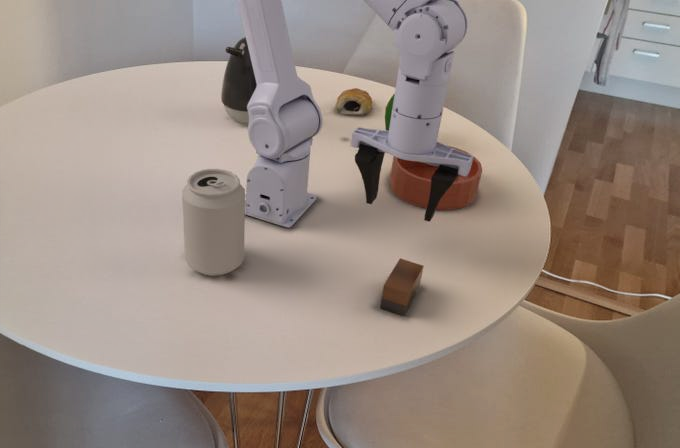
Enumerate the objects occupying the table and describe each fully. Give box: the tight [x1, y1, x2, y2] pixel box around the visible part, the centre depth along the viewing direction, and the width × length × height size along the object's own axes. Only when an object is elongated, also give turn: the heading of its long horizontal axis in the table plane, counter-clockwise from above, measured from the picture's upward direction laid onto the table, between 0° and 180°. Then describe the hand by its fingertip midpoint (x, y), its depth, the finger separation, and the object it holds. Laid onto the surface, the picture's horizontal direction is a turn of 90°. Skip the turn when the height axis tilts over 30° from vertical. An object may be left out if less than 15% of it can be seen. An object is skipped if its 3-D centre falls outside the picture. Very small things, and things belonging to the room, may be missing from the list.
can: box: [181, 168, 246, 277], centre depth 79 cm, size 8×8×12 cm
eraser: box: [379, 257, 425, 317], centre depth 76 cm, size 6×3×4 cm, turn 153°
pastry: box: [335, 87, 373, 117], centre depth 125 cm, size 9×7×4 cm
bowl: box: [389, 144, 483, 211], centre depth 99 cm, size 13×13×4 cm
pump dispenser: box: [220, 36, 257, 125], centre depth 115 cm, size 10×10×15 cm
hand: (399, 208), depth 82 cm, fingers open, 7 cm apart
